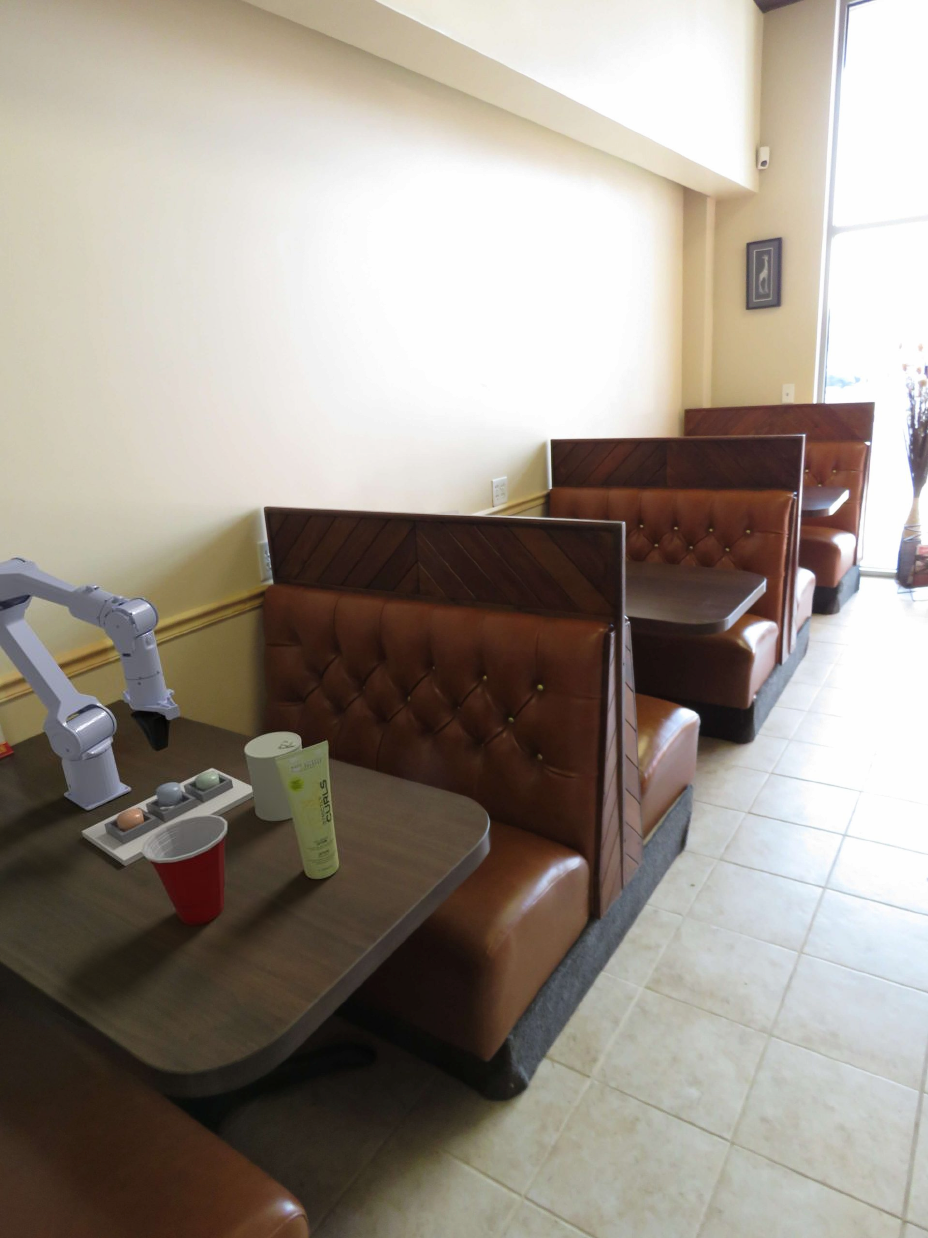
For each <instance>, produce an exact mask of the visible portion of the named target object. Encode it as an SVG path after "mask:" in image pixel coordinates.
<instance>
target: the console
mask: <svg viewBox="0 0 928 1238" xmlns="http://www.w3.org/2000/svg"><path fill="white" fill-rule="evenodd" d="M210 771H213V772H217V773H218V777H219V782H220V784H218V785H216V786H214V787H213V788H211V789H209V790H207V791H205V792H202V791H200V790H198V789H197V786H196V781H195V778H196V777H197V776H198V775H200V774H202V773H205V772H210ZM179 784H180V788H181V792H182V797H183V799H182V801H181V802H180V803H178V804H176V805H174V806H171V807H161V806H159V803H158V799H157V795H156V794H155V795H153V796H151V797H149V798H147V799H145V800H143V801H141V802H139V803H137V804H136V805H135V804H134V805H132V806H131V807H128V808H126V809H125V810H123V811H121V812H118V813H116V814H115V815H111V816H110V817H108V818H106V819H105V820H102V821H100V822H98V823H96V824H93V825H92V826H90V827H88V828H86V829H84V830H82V831H81V834H82V837H83V838H85V839H86V840H87V841H89V842H91V843H92V844H93V845H95V846H96V847H97V848H99V849H100V850H102V851H103V852H104V853H106V854H107V855H109V856H110V857H112V858H114V859H115V860H116V861H118V862H119V863H120V864H121V865H123V866H125V867H127V866H129V865H130V864H132V863H135V862H136V861H138V860H140V859H141V858H143V857H145V856H144V855H143V853H142V852H141V851H142V847H143V844H144V843H145V841H146V840H147V839H148V838H149V837H150V836H151V835H152V834H154V833H155V832H157V831H158V830H160V829H162V828H163V827H165V826H167V825H169V824H172V823H174V822H177V821H179V820H182V819H186V818H190V817H194V816H202V815H214V816H219V817H220V816H221V815H222V814H224V813H226V812H227V811H230V810H231V809H233V808H235V807H237V806H239V805H241V804H242V803H244V802H247V801H248V800H250V799H252V798H254V796H253V791H252V785H251V784H248V783H245V782H244V781H241V780H240V779H237V778H234V777H233V776H231V775H228V774H226V773H224V772H222V771H220V770H217V769H216V768H214V767H211V768H208V769H206V770H204V771H203V772H201V773H198V774H197V775H194V776H193V777H190V778H188V779H186V780H184V781H182V782H180V783H179ZM129 809H140V810H141V811H142V814H143V818H144V823H142V824H140V825H138V826H136V827H134V828H132V829H130V830H128V831H126V832H122V831H121V830H119V827H118V823H117V820H116V818H117V816H118V815H119V814H120V813H122V812H124V811H126V810H129Z"/></svg>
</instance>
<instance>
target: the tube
mask: <svg viewBox="0 0 928 1238" xmlns="http://www.w3.org/2000/svg"><path fill="white" fill-rule="evenodd" d="M275 762H276V765H277V767H278V770H279V773H280V776H281V779H282V782H283V785H284V788H285V792H286V795H287V799H288V803H289V807H290V810H291V814H292V818H291V819H292V823H293V826H294V830H295V834H296V838H297V839H296V840H297V842H298V847H299V851H300V856H301V861H302V866H303V869H304V873H305V875H306V876H307V877H308V878H310V879H312V880H322V879H325V878H328V877H330V876H332V875H334V874H335V873H336V872H337V871H338V869H339V866H340V861H339V854H338V847H337V839H336V831H335V824H334V823H335V822H334V814H333V806H332V805H333V804H332V797H331V796H332V793H331V780H330V770H329V768H330V766H329V742H328V740H325V741H322V742H320V743H317V744H314V745H310V746H307V747H304V748H302V749H301V750H298V751H295V752H292V753H289V754H286V755H283V756H280V757H277V758H275Z"/></svg>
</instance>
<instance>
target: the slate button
mask: <svg viewBox="0 0 928 1238" xmlns="http://www.w3.org/2000/svg"><path fill="white" fill-rule="evenodd" d="M155 795H157V799H158V803H159V806H161V807H171V806H174V805H176V804H178V803H180V802H181V801H182V799H183V797H182V792H181V788H180V783H179V782H176V781H175V782H173V781H172V782H171V781H170V782H167V783H163V784H162V785H159V786H158V787H157V788H156V789H155Z"/></svg>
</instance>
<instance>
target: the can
mask: <svg viewBox="0 0 928 1238" xmlns="http://www.w3.org/2000/svg"><path fill="white" fill-rule="evenodd" d="M301 749H303V746H302V738H301V736H300V735H298V734H297V733H295V732H290V731H276V732H270V733H269V732H268V733H265V734H262V735H260V736H257V737H256V738H254V739H251V740H250V741H249V742H248V743H246V744H245V746H244V750H243V751H244V755H245V759H246V764H247V769H248V773H249V779H250V783H251V784H250V786H252V791H253V796H254V797H253V802H254V812H255V815H256V816H257V817H258V818H259V819H261V820H264V821H266V822H267V821H268V822H280V821H286V820H289V819H293V818H292V814H291V810H290V807H289V803H288V799H287V795H286V792H285V788H284V785H283V782H282V779H281V776H280V773H279V770H278V767H277V765H276V762H275V758H277V757H280V756H283V755H286V754H289V753H292V752H295V751H298V750H301Z"/></svg>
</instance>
